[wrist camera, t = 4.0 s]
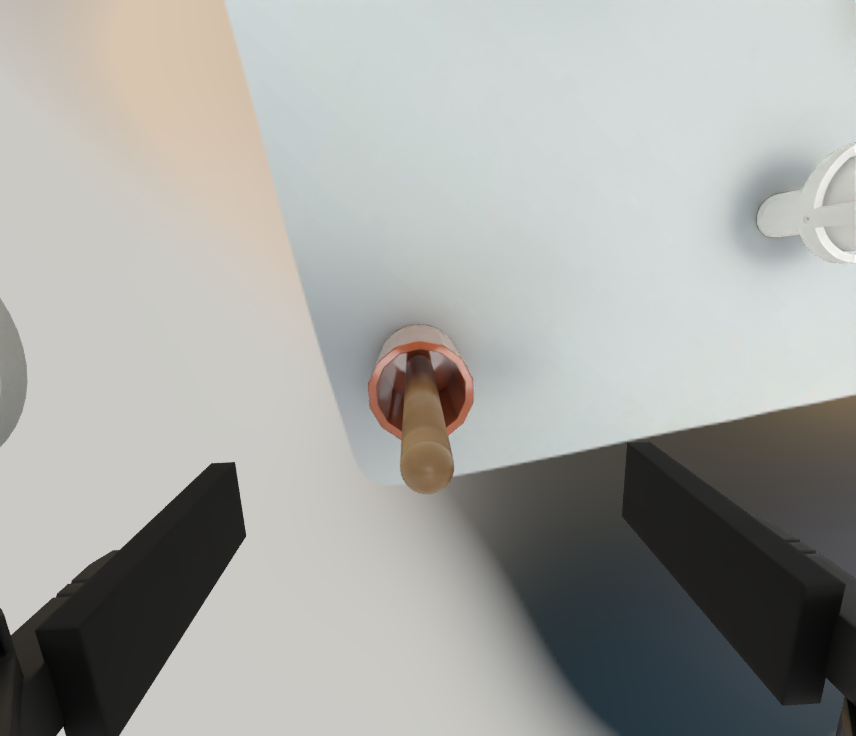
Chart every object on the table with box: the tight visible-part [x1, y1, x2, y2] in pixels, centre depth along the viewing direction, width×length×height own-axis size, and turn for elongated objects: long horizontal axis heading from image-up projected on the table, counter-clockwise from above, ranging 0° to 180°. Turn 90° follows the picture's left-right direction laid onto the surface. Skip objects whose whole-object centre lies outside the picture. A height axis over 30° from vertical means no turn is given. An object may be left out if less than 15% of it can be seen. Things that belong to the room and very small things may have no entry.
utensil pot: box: [368, 325, 473, 440], centre depth 29 cm, size 6×6×8 cm
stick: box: [400, 355, 454, 494], centre depth 23 cm, size 2×2×18 cm
